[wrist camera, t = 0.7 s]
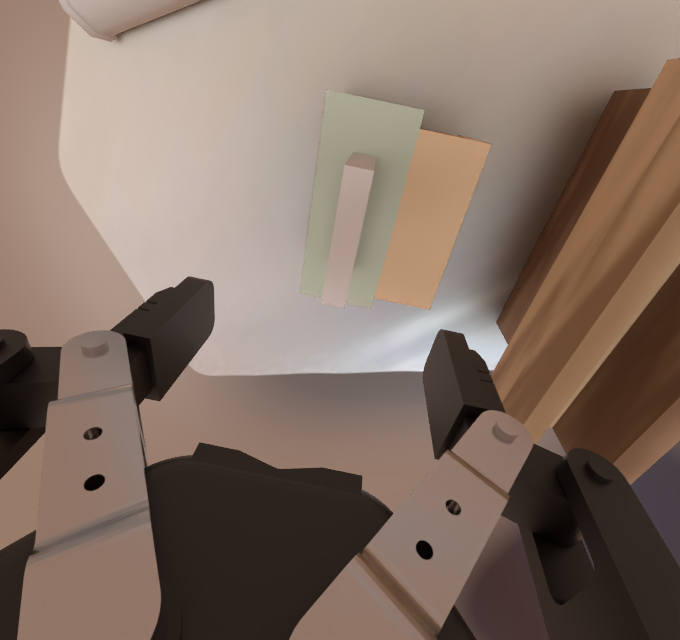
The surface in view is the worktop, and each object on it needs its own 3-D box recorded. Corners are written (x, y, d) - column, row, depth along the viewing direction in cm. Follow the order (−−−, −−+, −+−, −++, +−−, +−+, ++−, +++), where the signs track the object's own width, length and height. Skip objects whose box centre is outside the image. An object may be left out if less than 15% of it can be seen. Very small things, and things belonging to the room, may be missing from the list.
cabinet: (464, 121, 29) (536, 131, 15) (415, 270, 36) (435, 366, 23) (342, 95, 29) (307, 82, 15) (319, 250, 36) (281, 334, 23)
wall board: (714, 112, 27) (1288, 117, 10) (565, 337, 38) (709, 516, 22) (558, 78, 27) (866, 25, 10) (457, 314, 38) (516, 475, 21)
